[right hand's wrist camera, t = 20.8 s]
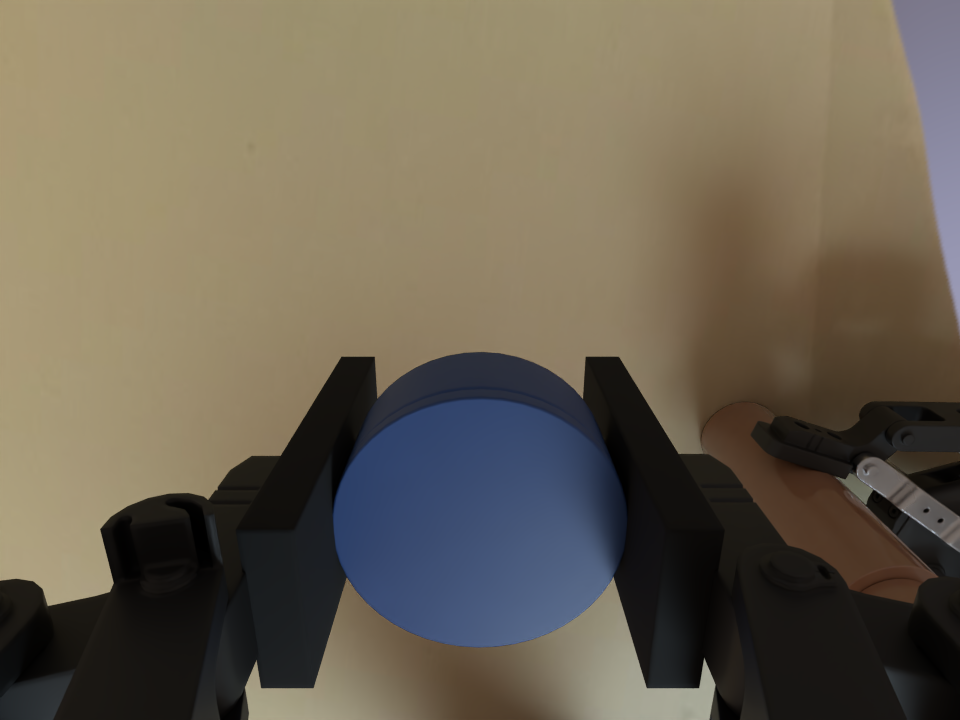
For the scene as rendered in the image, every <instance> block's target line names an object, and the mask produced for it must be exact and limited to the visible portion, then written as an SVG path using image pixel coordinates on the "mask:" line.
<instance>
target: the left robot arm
mask: <svg viewBox="0 0 960 720" xmlns="http://www.w3.org/2000/svg"><path fill="white" fill-rule="evenodd" d="M859 419H860V421H859V422H858V423H856V424H855V425H854V426H853V427H852V428H850V429H848V430H845V431H839V432H838V431H833V430H829V429H826V428H823V427H820V426H817V425H814V424H810V423H807V422H804V421H801V420H798V419H795V418H791V417H788V416H780V417H774V419H773V421H772V423H771V424H769V423H766V422H763V421H757V423H756V425H755V427H754V429H753V431H752V432H751V434H750V435H751V437H752V438H753V439H754V440H755V441H756V442H757V444H758V445H759V446H760V447H761V448H762V449H763V450H764V451H765V452H766V453H768V454H769V455H771V456H773V457H775V458H778V459H781V460H784V461H788V462H791V463H794V464H797V465H801V466H804V467H807V468H810V469H814V470H817V471H820V472H824V473H828V474H830V475H833V476H836V477H840V478H843V479H846V477H847V476H848V474H849V473H851V474H854V475H855V476H856V477H857V478H858V479H860V480H861V481H862V482H864V483H865V484H867V485H868V486H869V487H871V488H872V489H874V490H873V492H872V493H871V495H870V496H869V498H868V501H867V504H866V506H867V507H868V508H869V509H870V510H871V511H872V512H873V513H874V514H875V515H876V516H877V517H878V518H879V519H880V520H881V521H883V522H884V523H885V524H886V525H887V526H888V527H889V528H890V529H891V530H892V531H893V532H894V533H895V534H896V535H897V536H898V537H899V538H900V539H901V540H902V541H903V542H904V543H905V544H906V545H907V546H908V547H909V548H910V549H911V550H912V551H913V552H914V553H915V554H916V555H917V556H918V557H919V558H920V559H921V560H922V561H923V562H924V563H925V564H926V565H927V566H928V567H929V568H930V569H931V570H932V571H933V572H934V573H935V574H936V575H937V576H938V577H943V576H948V577H956V578H960V461H958V462H954V463H950V464H947V465H943V466H939V467H935V468H931V469H927V470H923V471H919V472H916V473H912V474H908V475H907V474H906V473H905V472H903V471H902V470H900V469H899V468H898V467H896V466H895V465H894V464H892V463H891V462H889V461H888V460H887V459H888V458H889V457H890V456H891V455H892V454H893V453H895V452H896V451H897V450H899V451H919V452H958V453H960V403H953V402H882V401H874V402H870V403H868V404H866V405H865V406H864V407H863V408H862V409H861V411H860V413H859Z"/></svg>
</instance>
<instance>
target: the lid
mask: <svg viewBox="0 0 960 720" xmlns="http://www.w3.org/2000/svg"><path fill="white" fill-rule="evenodd" d="M627 519H628V510H627V501H626V497H625V494H624V490H623V487H622V483H621V481H620V479H619V476H618V474H617V471H616V469H615V466H614V464H613V461H612V459H611V456H610V454H609V451H608V449H607V446H606V444H605V441H604V439H603V436H602V434H601V431H600V429H599V426H598V424H597V422H596V420H595V418H594V415H593V414H592V412H591V410H590V409H589V407H588V406H587V404H586V403H585V401H584V400H583V399H582V398H581V397H580V395H579V394H578V393H577V392H576V391H575V390H574V389H573V388H572V387H571V386H570V385H569V384H567V383H566V382H565V381H564V380H563V379H562V378H560V377H558V376H557V375H555V374H554V373H552V372H551V371H549V370H548V369H546V368H544V367H542V366H539V365H537V364H535V363H533V362H530V361H528V360H525V359H522V358H519V357H515V356H510V355H505V354H500V353H488V352H473V353H461V354H455V355H450V356H445V357H442V358H439V359H435V360H432V361H430V362H427V363H425V364H423V365H421V366H418V367H416V368H414V369H413V370H411V371H409V372H408V373H406V374H405V375H403V376H401V377H400V378H399V379H398V380H396V381H395V382H394V383H393V384H392V385H390V386H389V387H388V388H387V389H386V390H385V391H384V392H383V393H382V395H381V396H380V397H379V398H378V399H377V400H376V402H375V403H374V405H373V406H372V408H371V409H370V411H369V412H368V414H367V416H366V418H365V420H364V422H363V424H362V427H361V429H360V431H359V434H358V436H357V439H356V441H355V444H354V446H353V449H352V451H351V454H350V456H349V459H348V461H347V464H346V466H345V469H344V471H343V474H342V476H341V479H340V481H339V485H338V488H337V491H336V494H335V497H334V504H333V525H334V536H335V546H336V552H337V555H338V558H339V561H340V564H341V566H342V568H343V570H344V572H345V574H346V576H347V578H348V579H349V581H350V582H351V584H352V585H353V587H354V588H355V590H356V591H357V592H358V593H359V595H360V596H361V597H362V598H363V599H364V600H365V601H366V602H367V604H369V605H370V606H371V607H372V608H373V609H374V610H375V611H377V612H378V613H379V614H380V615H382V616H383V617H384V618H386V619H387V620H389V621H390V622H392V623H393V624H395V625H397V626H399V627H401V628H402V629H404V630H406V631H408V632H410V633H413V634H415V635H418V636H420V637H423V638H425V639H429V640H433V641H436V642H440V643H444V644H450V645H456V646H465V647H497V646H504V645H511V644H516V643H520V642H524V641H528V640H532V639H534V638H537V637H540V636H543V635H545V634H548V633H550V632H552V631H554V630H556V629H558V628H560V627H562V626H564V625H565V624H567V623H568V622H570V621H571V620H573V619H574V618H576V617H577V616H579V615H580V614H581V613H582V612H584V611H585V610H586V609H587V608H588V607H590V606H591V605H592V603H593V602H594V601H595V600H596V599H597V598H598V597H599V596H600V595H601V594H602V593H603V591H604V590H605V588H606V587H607V586H608V584H609V583H610V581H611V580H612V578H613V576H614V574H615V572H616V570H617V568H618V567H619V564H620V561H621V558H622V556H623V553H624V549H625V540H626V530H627Z"/></svg>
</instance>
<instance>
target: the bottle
mask: <svg viewBox="0 0 960 720" xmlns="http://www.w3.org/2000/svg"><path fill="white" fill-rule="evenodd" d="M774 417H776V416H775V415H774V414H773V413H772V412H771V411H770V410H768V409H767V408H765V407H764V406H762V405H759V404H756V403H750V402H741V403H735V404H731V405H729V406H726V407H724V408H722V409H721V410H719V411H718V412H716V413H715V414H714V415H713V416H712V417H711V418H710V419H709V421H708V422H707V424H706V425H705V427H704V430H703V433H702V438H701V446H702V450H703V453H704V454H709V455H711V456H713V457H714V458H716V459H717V460H719V461H720V462H722V463H723V464H725V465H726V466H728V467H729V468H731V470H732V471H733V472H734V474H735V475H736V476H737V478H738V479H739V480H740V482H741V483H742V484H743V488H746V490H747V491H748V492H749V494H750V495H751V497H752V498H753V502H756V503H757V505H758V506H759V507H760V509H761V510H762V511H763V513H764V514H765V515H766V517H767V518H768V519H769V521H770V522H771V523H772V525H773V526H774V527H775V529H776V530H777V532H778V533H779V534H780V536H781V537H782V538H783V540H784V541H785V542H786V544H787V545H788V546H792V547H796V548H801V549H803V550H805V551H807V552H810V553H812V554H814V555H816V556H818V557H821V558H822V559H823V560H825V561H826V562H827V563H829V564H830V565H831V566H833V567H834V568H835V569H837V571H838V572H839V573H840V575H841V576H842V577H843V579H844V580H845V582H846V583H847V585H848V588H849V589H851V590H854V591H858V592H862V593H865V594H870V595H874V596H879V597H884V598H889V599H893V600H898V601H903V602H908V603H912V604H914V601H915V597H916V594H917V591H918V587H919V586H920V585H921V584H922V583H923V582H925V581H926V580H927V579H929V578H936V577H938V576H937V575H936V574H935V573H934V572H933V571H932V570H931V569H930V568H929V567H928V566H927V565H926V564H925V563H924V562H923V561H922V560H921V559H920V558H919V557H918V556H917V555H916V554H915V553H914V552H913V551H912V550H911V549H910V548H909V547H908V546H907V545H906V544H905V543H904V542H903V541H902V540H901V539H900V538H899V537H898V536H897V535H896V534H895V533H894V532H893V531H892V530H891V529H890V528H889V527H888V526H887V525H886V524H885V523H884V522H883V521H881V520H880V519H879V518H878V517H877V516H876V515H875V514H874V513H873V512H872V511H871V510H870V509H869V508H868V507H867V506H866V505H865V504H864V503H863V502H862V501H861V500H860V499H859V498H858V497H857V496H856V495H855V494H854V493H853V492H852V491H851V490H850V489H849V488H848V487H847V486H846V485H845V484H844V483H843V482H842V481H841V480H840V479H839V478H838V477H836V476H833V475H830V474H828V473H824V472H820V471H817V470H814V469H810V468H807V467H804V466H801V465H797V464H794V463H791V462H788V461H784V460H781V459H778V458H775V457H773V456H771V455H769V454H768V453H766V452H765V451H764V450H763V449H762V448H761V447H760V446H759V445H758V444H757V442H756V441H755V440H754V439H753V438H752V437H751V435H750V434H751V432H752V431H753V429H754V427H755V425H756V423H757V421H763V422H766V423H769V424H771V423H772V421H773V419H774Z"/></svg>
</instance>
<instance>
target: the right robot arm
mask: <svg viewBox="0 0 960 720" xmlns="http://www.w3.org/2000/svg"><path fill="white" fill-rule="evenodd" d="M376 400H377V387H376V371H375V357H341V359H340V360H339V362H338V363H337V365H336V367H335V368H334V370H333V372H332V373H331V375H330V377H329V378H328V380H327V381H326V383H325V385H324V386H323V388H322V390H321V391H320V393H319V394H318V396H317V398H316V399H315V401H314V403H313V404H312V406H311V407H310V409H309V411H308V412H307V414H306V416H305V417H304V419H303V421H302V422H301V424H300V425H299V427H298V429H297V430H296V432H295V434H294V435H293V437H292V438H291V440H290V442H289V443H288V445H287V447H286V448H285V450H284V451H283V453H282V455H281V456H251V457H250V458H248V459H247V460H245V461H244V462H242V463H241V464H239V465H238V466H236V467H234V468H233V469H231V470H230V471H229V473H228V474H227V475H226V477H225V478H224V479H223V481H222V482H221V483H220V485H219V486H218V490H215V492H214V493H213V494H212V496H211V497H210V498H209V500H207V499H206V498H205V497H203V496H199V495H194V494H190V493H177V494H166V495H161V496H156V497H151V498H147V499H145V500H142V501H140V502H137V503H135V504H132V505H130V506H127V507H126V508H124V509H123V510H121V511H120V512H118V513H116V514H115V515H113V516H112V517H110V519H109V520H108V521H107V522H106V523H105V524H104V525H103V527H102V528H101V529H100V530H101V534H102V538H103V542H104V546H105V550H106V554H107V558H108V562H109V566H110V570H111V574H112V578H113V582H114V584H113V586H112V589H111V591H110V592H109V593H105V594H102V595H98V596H94V597H89V598H84V599H80V600H75V601H70V602H66V603H61V604H56V605H51V606H48V605H47V602H46V599H45V596H44V592H43V589H42V588H41V587H39V586H38V585H37V584H36V583H35V582H33V581H27V580H21V579H11V580H3V581H0V720H248V716H249V711H248V704H247V697H246V691H245V686H246V683H247V681H248V679H249V676H250V674H251V672H252V669H253V667H254V664H255V662H256V660H257V665H258V671H259V677H260V683H261V688H314V685H315V681H316V678H317V675H318V671H319V668H320V665H321V661H322V658H323V655H324V651H325V648H326V645H327V641H328V638H329V635H330V631H331V628H332V625H333V621H334V618H335V614H336V611H337V608H338V604H339V601H340V598H341V594H342V591H343V588H344V584H345V581H346V578H347V576H346V574H345V572H344V570H343V568H342V566H341V564H340V561H339V558H338V555H337V552H336V546H335V536H334V525H333V504H334V497H335V494H336V491H337V488H338V485H339V481H340V479H341V476H342V474H343V471H344V469H345V466H346V464H347V461H348V459H349V456H350V454H351V451H352V449H353V446H354V444H355V441H356V439H357V436H358V434H359V431H360V429H361V427H362V424H363V422H364V420H365V418H366V416H367V414H368V412H369V411H370V409H371V408H372V406H373V405H374V403H375V402H376ZM583 400H584V401H585V403H586V404H587V406H588V407H589V409H590V410H591V412H592V414H593V415H594V418H595V420H596V422H597V424H598V426H599V429H600V431H601V434H602V436H603V439H604V441H605V444H606V446H607V449H608V451H609V454H610V456H611V459H612V461H613V464H614V466H615V469H616V471H617V474H618V476H619V479H620V481H621V483H622V487H623V490H624V494H625V497H626V501H627V510H628V519H627V530H626V540H625V549H624V553H623V556H622V558H621V561H620V564H619V567H618V568H617V570H616V572H615V574H614V580H615V583H616V586H617V590H618V593H619V597H620V600H621V603H622V607H623V610H624V613H625V617H626V620H627V623H628V627H629V630H630V633H631V637H632V640H633V643H634V647H635V650H636V653H637V657H638V660H639V663H640V667H641V670H642V673H643V677H644V680H645V683H646V687H647V688H699V686H700V680H701V674H702V667H703V661H704V658H705V660H706V663H707V665H708V667H709V670H710V672H711V675H712V677H713V679H714V682H715V684H716V686H715V691H714V697H713V703H712V709H711V714H710V720H960V578H956V577H948V576H943V577H936V578H929V579H927V580H926V581H925V582H923V583H922V584H921V585H920V586H919V587H918V591H917V594H916V597H915V601H914V604H912V603H908V602H903V601H898V600H893V599H889V598H884V597H879V596H874V595H870V594H865V593H862V592H858V591H854V590H851V589H849V588H848V585H847V583H846V582H845V580H844V579H843V577H842V576H841V575H840V573H839V572H838V571H837V569H835V568H834V567H833V566H831V565H830V564H829V563H827V562H826V561H825V560H823V559H822V558H821V557H818V556H816V555H814V554H812V553H810V552H807V551H805V550H803V549H801V548H796V547H792V546H788V545H787V544H786V542H785V541H784V540H783V538H782V537H781V536H780V534H779V533H778V532H777V530H776V529H775V527H774V526H773V525H772V523H771V522H770V521H769V519H768V518H767V517H766V515H765V514H764V513H763V511H762V510H761V509H760V507H759V506H758V505H757V503H756V502H753V498H752V497H751V495H750V494H749V492H748V491H747V490H746V488H743V484H742V483H741V482H740V480H739V479H738V478H737V476H736V475H735V474H734V472H733V471H732V470H731V468H729V467H728V466H726V465H725V464H723V463H722V462H720V461H719V460H717V459H716V458H714V457H713V456H711V455H709V454H678V452H677V451H676V449H675V448H674V446H673V444H672V443H671V441H670V439H669V438H668V436H667V435H666V433H665V431H664V430H663V428H662V426H661V425H660V423H659V421H658V420H657V418H656V417H655V415H654V413H653V412H652V410H651V408H650V407H649V405H648V404H647V402H646V400H645V399H644V397H643V395H642V394H641V392H640V391H639V389H638V387H637V386H636V384H635V382H634V381H633V379H632V378H631V376H630V374H629V373H628V371H627V369H626V368H625V366H624V364H623V363H622V361H621V360H620V358H619V357H586V361H585V377H584V393H583Z"/></svg>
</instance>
